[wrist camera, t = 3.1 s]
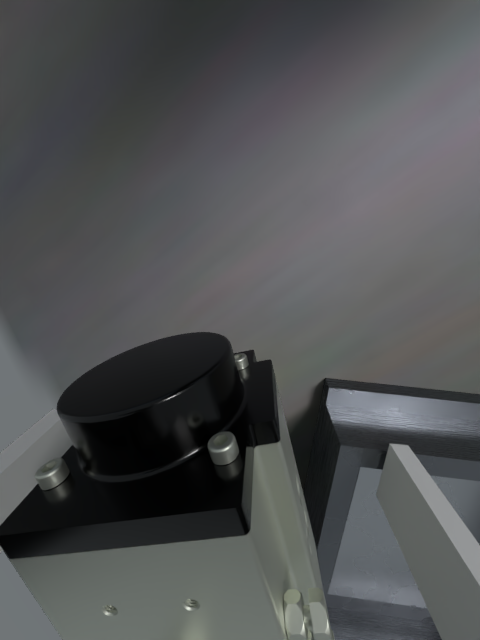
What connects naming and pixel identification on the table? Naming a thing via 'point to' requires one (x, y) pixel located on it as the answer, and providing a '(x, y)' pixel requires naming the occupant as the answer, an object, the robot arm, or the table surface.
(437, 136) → the table surface
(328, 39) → the table surface
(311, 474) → the rectangular open-top bin
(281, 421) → the pneumatic valve
